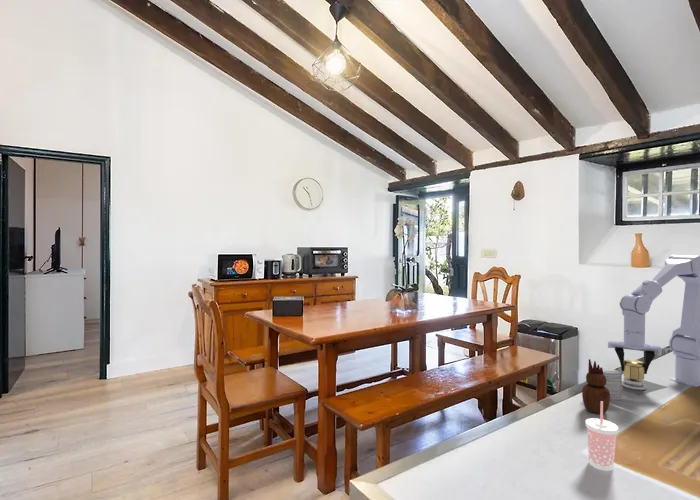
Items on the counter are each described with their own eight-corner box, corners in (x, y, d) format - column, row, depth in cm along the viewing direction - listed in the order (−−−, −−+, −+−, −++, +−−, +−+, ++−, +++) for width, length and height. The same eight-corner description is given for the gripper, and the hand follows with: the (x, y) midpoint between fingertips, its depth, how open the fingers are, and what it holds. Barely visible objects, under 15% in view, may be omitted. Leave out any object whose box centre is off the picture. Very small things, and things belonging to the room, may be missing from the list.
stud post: (628, 381, 137) (628, 366, 137) (651, 388, 131) (651, 372, 131) (616, 385, 134) (616, 368, 134) (638, 392, 128) (638, 375, 128)
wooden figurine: (582, 412, 114) (583, 360, 113) (581, 405, 119) (582, 355, 118) (610, 417, 110) (611, 363, 110) (608, 409, 116) (609, 358, 115)
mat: (635, 378, 141) (635, 377, 141) (667, 388, 132) (667, 387, 132) (606, 385, 134) (606, 384, 134) (639, 396, 125) (639, 395, 125)
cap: (619, 374, 134) (620, 360, 134) (632, 373, 135) (632, 359, 135) (634, 380, 129) (635, 365, 129) (647, 378, 130) (648, 363, 130)
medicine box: (613, 395, 126) (614, 368, 126) (621, 401, 122) (622, 373, 121) (587, 394, 127) (587, 367, 127) (594, 400, 122) (595, 372, 122)
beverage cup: (587, 454, 91) (588, 394, 91) (619, 463, 88) (620, 400, 87) (582, 465, 87) (583, 402, 86) (616, 476, 83) (616, 409, 83)
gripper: (609, 331, 132) (608, 371, 132) (664, 336, 125) (663, 379, 125) (607, 327, 138) (607, 365, 139) (660, 331, 131) (659, 372, 131)
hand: (633, 371), depth 132 cm, fingers closed on cap, 5 cm apart
